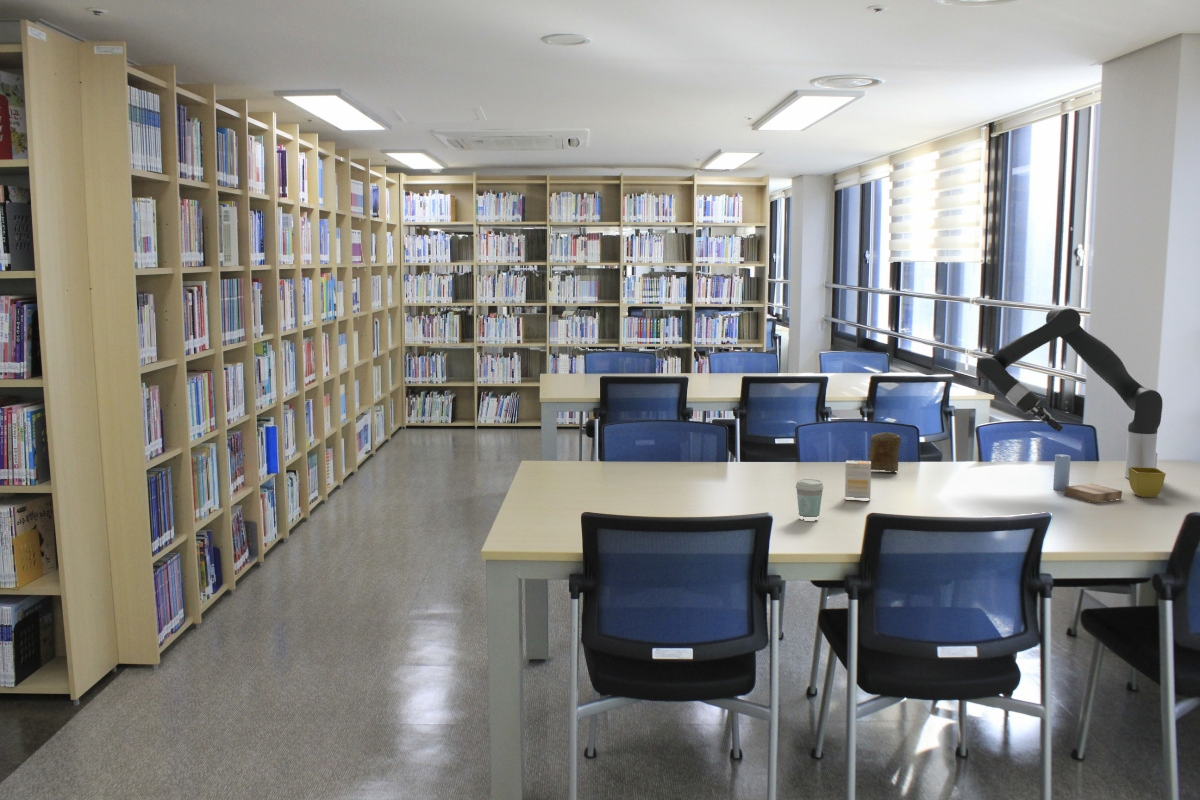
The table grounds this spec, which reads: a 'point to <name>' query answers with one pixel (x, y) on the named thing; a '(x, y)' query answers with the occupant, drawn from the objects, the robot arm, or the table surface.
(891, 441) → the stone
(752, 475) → the table surface
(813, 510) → the coffee cup
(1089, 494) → the stand
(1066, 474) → the pale blue tumbler
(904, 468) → the table surface
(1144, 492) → the flower pot
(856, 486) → the supplement box
